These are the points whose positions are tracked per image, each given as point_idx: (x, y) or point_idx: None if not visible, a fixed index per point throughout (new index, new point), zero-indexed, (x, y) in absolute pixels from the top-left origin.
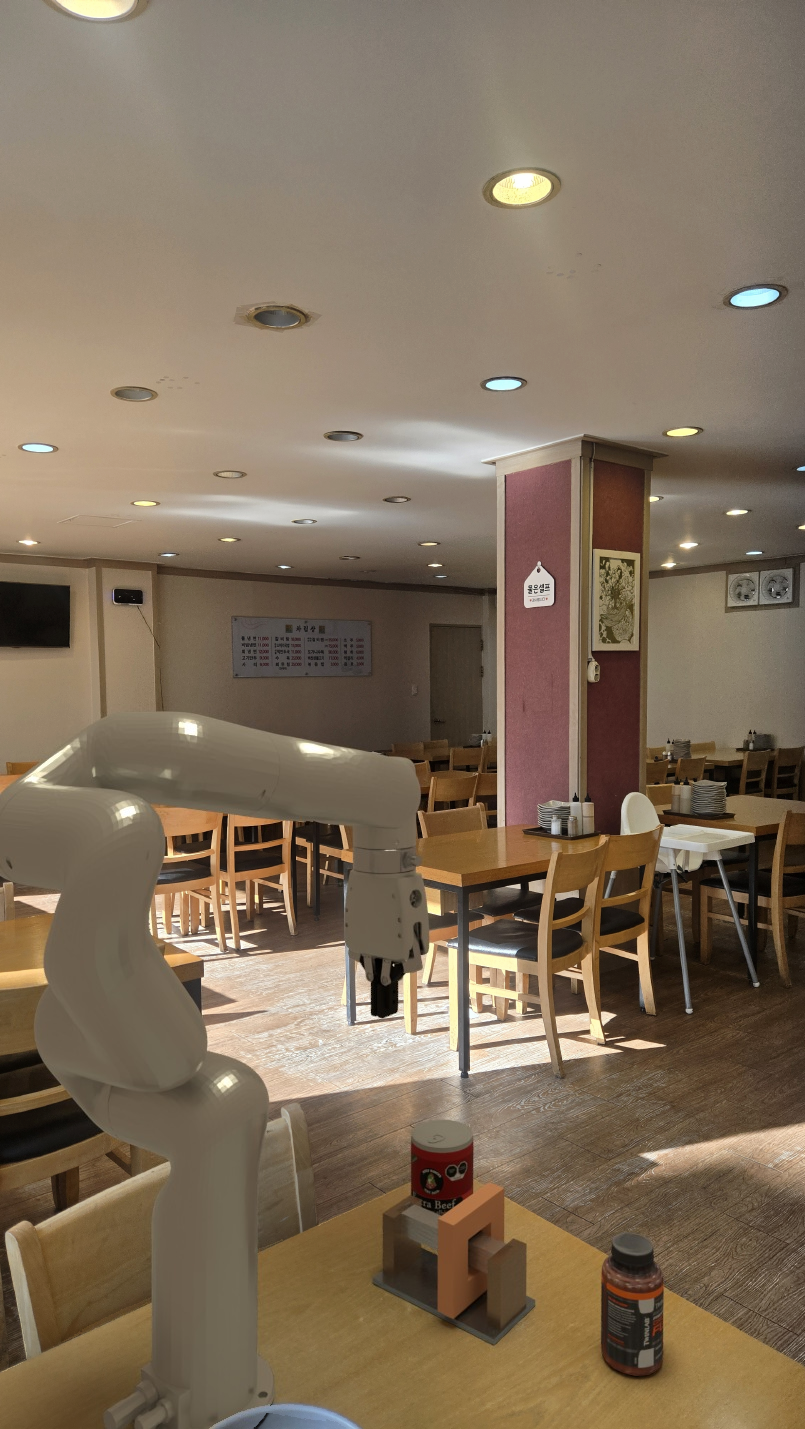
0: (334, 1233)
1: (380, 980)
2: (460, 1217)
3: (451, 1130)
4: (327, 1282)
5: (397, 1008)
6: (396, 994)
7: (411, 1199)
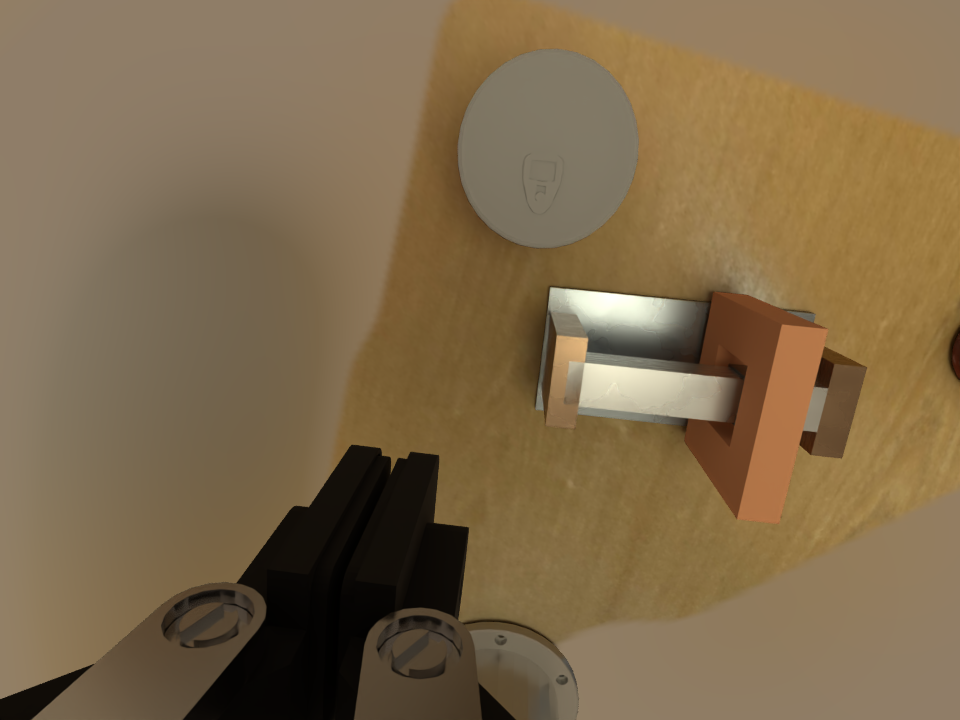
0: (389, 323)
1: (304, 717)
2: (780, 491)
3: (553, 103)
4: (471, 441)
5: (435, 463)
6: (458, 596)
7: (568, 348)
